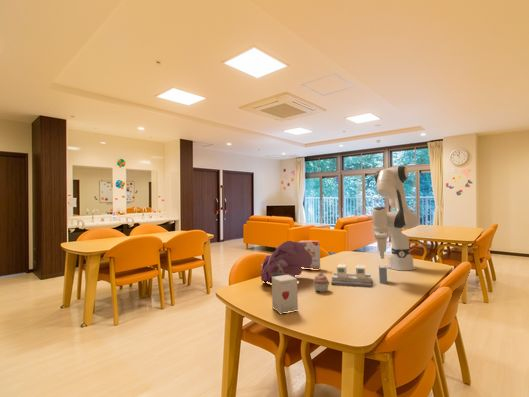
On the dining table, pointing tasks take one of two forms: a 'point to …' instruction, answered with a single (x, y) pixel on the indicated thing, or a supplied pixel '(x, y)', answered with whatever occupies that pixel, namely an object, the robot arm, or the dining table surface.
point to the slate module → (383, 274)
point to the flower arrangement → (285, 261)
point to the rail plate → (351, 277)
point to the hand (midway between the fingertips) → (382, 257)
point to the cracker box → (312, 252)
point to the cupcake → (321, 283)
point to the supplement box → (284, 293)
